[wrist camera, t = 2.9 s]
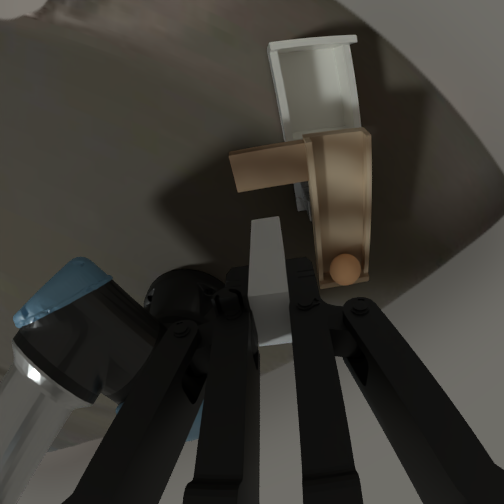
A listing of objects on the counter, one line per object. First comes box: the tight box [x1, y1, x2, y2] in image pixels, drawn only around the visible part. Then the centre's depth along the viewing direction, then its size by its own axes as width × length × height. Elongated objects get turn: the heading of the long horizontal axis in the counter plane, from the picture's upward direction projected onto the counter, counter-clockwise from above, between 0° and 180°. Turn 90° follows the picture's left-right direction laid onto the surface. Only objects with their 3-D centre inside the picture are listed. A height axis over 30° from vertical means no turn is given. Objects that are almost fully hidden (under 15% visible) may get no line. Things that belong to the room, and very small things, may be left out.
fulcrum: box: [293, 181, 312, 221], centre depth 38 cm, size 6×8×8 cm
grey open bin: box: [267, 35, 361, 142], centre depth 32 cm, size 9×12×8 cm
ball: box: [330, 254, 361, 285], centre depth 36 cm, size 4×4×4 cm
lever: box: [229, 127, 372, 289], centre depth 34 cm, size 18×13×5 cm
